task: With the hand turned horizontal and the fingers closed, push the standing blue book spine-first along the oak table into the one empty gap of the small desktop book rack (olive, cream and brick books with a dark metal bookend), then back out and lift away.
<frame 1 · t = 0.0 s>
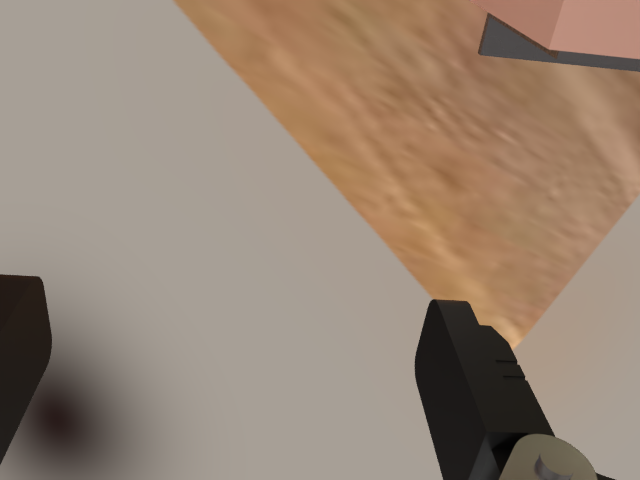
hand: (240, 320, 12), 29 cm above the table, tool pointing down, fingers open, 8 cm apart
bookend: (576, 18, 38), on the table
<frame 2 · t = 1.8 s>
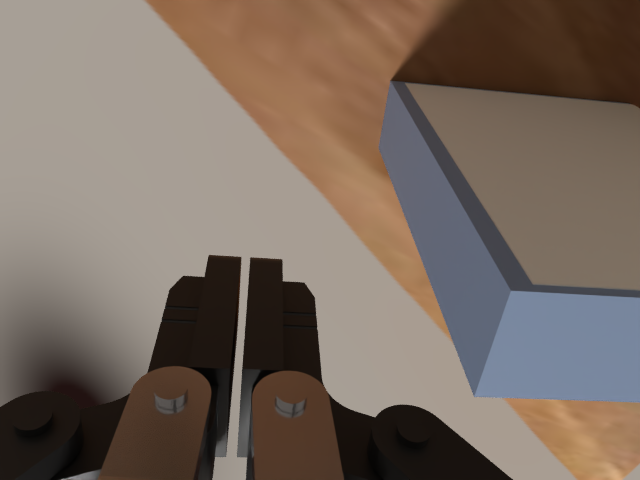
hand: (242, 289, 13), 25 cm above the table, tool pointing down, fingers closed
blue book: (503, 125, 38), on the table
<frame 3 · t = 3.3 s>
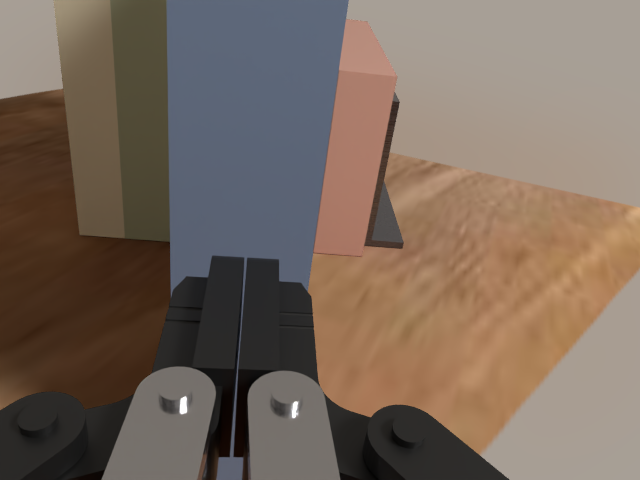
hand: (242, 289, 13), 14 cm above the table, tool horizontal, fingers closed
bookend: (356, 205, 48), on the table
blue book: (239, 357, 32), on the table
book rack: (254, 197, 47), on the table
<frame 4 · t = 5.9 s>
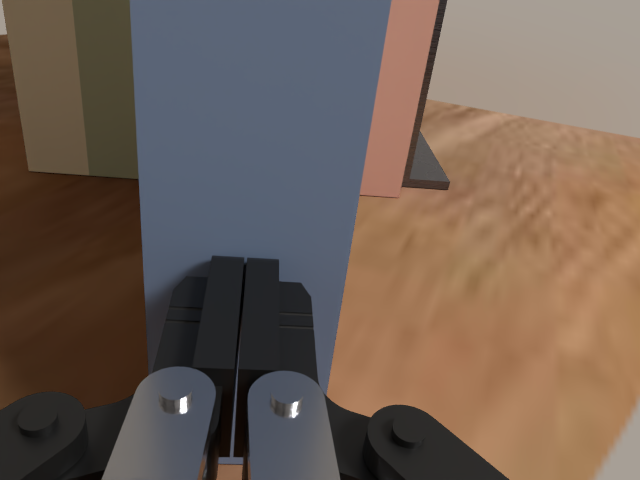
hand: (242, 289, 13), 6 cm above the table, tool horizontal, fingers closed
bookend: (384, 146, 39), on the table
blue book: (247, 293, 23), on the table, touching gripper
book rack: (257, 135, 38), on the table
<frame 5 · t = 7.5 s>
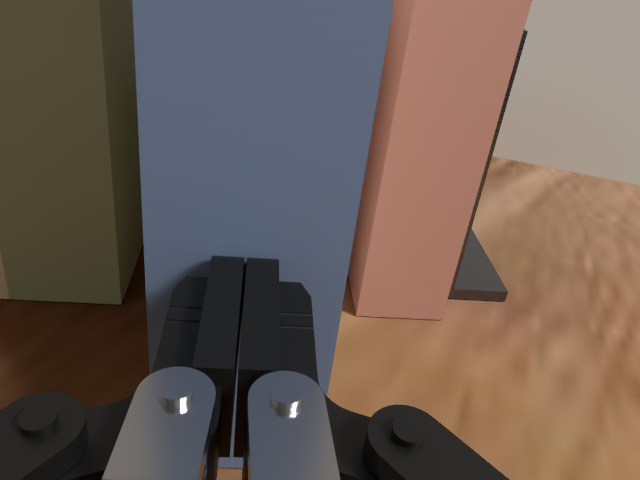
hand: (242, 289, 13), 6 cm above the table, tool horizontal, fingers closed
bookend: (413, 227, 30), on the table
blue book: (249, 297, 23), on the table, touching gripper
book rack: (248, 216, 29), on the table
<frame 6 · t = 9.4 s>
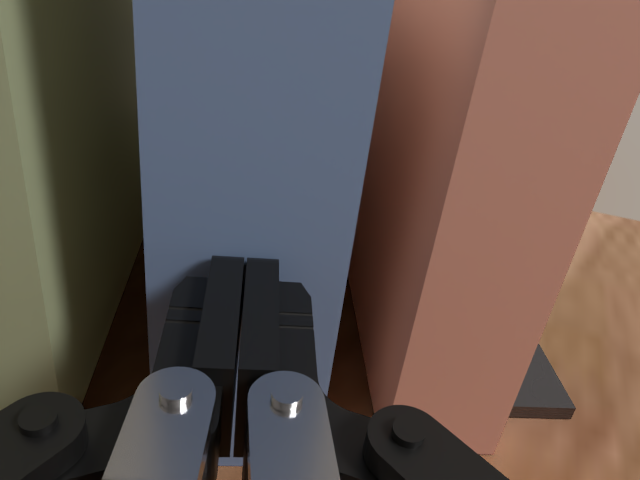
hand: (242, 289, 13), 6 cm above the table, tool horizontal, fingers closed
bookend: (444, 304, 24), on the table
blue book: (247, 295, 23), on the table, touching book rack, gripper
book rack: (241, 293, 23), on the table
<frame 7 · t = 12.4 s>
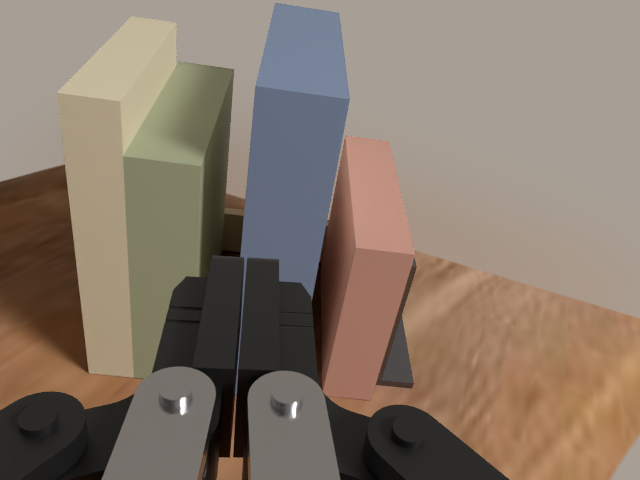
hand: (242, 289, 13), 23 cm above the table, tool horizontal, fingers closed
bookend: (368, 326, 47), on the table
blue book: (268, 317, 47), on the table
book rack: (265, 315, 47), on the table
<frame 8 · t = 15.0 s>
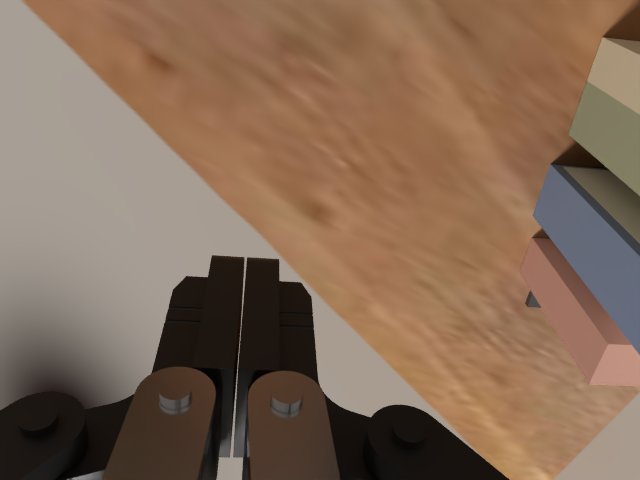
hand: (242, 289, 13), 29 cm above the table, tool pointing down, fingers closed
blue book: (636, 197, 47), on the table
book rack: (638, 195, 46), on the table
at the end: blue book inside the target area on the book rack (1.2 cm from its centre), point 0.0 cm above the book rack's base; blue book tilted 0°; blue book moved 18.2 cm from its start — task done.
